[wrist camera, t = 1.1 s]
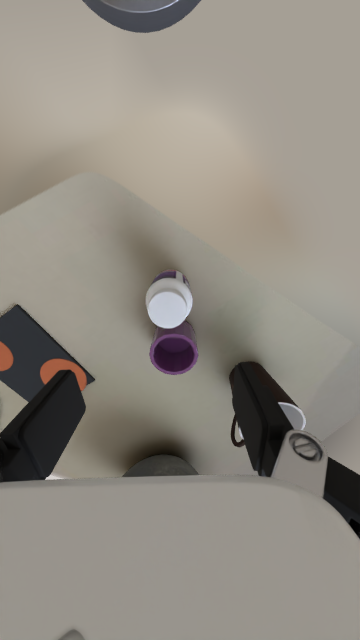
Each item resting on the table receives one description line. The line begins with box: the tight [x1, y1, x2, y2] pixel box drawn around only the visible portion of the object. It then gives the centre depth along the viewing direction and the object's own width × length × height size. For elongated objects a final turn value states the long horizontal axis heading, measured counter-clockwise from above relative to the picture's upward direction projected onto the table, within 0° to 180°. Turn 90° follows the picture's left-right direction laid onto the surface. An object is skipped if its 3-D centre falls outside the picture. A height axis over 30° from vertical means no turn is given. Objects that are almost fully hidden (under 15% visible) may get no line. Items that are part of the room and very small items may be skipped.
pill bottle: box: [146, 270, 193, 328], centre depth 23 cm, size 5×5×10 cm
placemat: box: [0, 305, 95, 402], centre depth 33 cm, size 18×14×1 cm
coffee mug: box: [229, 362, 306, 447], centre depth 30 cm, size 12×9×10 cm
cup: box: [149, 320, 198, 375], centre depth 29 cm, size 7×7×6 cm
